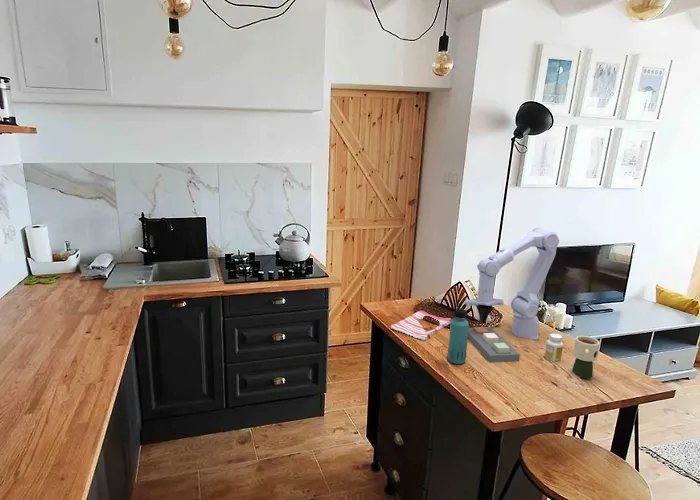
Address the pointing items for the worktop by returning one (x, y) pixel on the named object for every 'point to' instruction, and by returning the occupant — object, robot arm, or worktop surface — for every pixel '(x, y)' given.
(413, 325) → the dish towel
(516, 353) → the button console
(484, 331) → the terracotta button
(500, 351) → the sage button
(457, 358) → the beverage bottle
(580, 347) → the character mug
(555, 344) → the supplement bottle
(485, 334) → the cream button
